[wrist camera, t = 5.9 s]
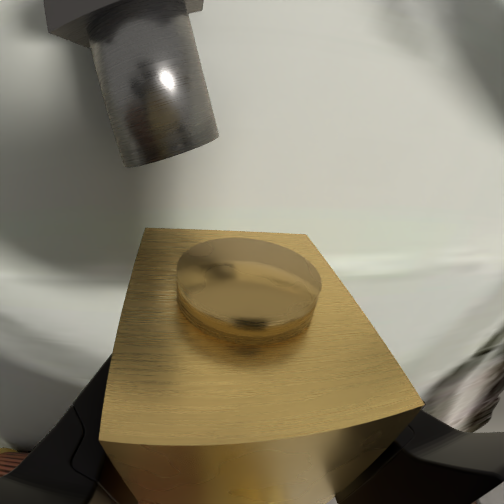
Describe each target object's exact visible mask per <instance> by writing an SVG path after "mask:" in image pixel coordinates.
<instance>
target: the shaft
mask: <svg viewBox="0 0 504 504" xmlns="http://www.w3.org/2000/svg"><path fill="white" fill-rule="evenodd" d="M203 1H204V0H44V7H45V14H46V20H47V26H48V32H49V33H50V34H53V35H56V36H59V37H61V38H64V39H67V40H69V41H72V42H75V43H77V44H80V45H82V46H85V47H87V48H89V47H91V51H92V56H93V60H94V64H95V68H96V72H97V76H98V80H99V84H100V87H101V91H102V95H103V98H104V102H105V105H106V109H107V112H108V116H109V119H110V122H111V126H112V129H113V132H114V136H115V139H116V142H117V145H118V148H119V151H120V154H121V157H122V160H123V163H124V166H125V167H136V166H141V165H145V164H149V163H152V162H156V161H159V160H163V159H166V158H169V157H172V156H175V155H178V154H181V153H184V152H187V151H189V150H192V149H195V148H197V147H200V146H202V145H205V144H207V143H209V142H211V141H213V140H215V139H216V138H218V137H219V133H218V129H217V126H216V122H215V118H214V114H213V110H212V106H211V102H210V98H209V94H208V90H207V86H206V82H205V79H204V75H203V71H202V67H201V63H200V59H199V55H198V51H197V47H196V43H195V39H194V35H193V31H192V27H191V23H190V19H189V15H188V14H189V13H193V12H197V11H202V9H203Z"/></svg>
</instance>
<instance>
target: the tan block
mask: <svg viewBox="0 0 504 504" xmlns="http://www.w3.org/2000/svg"><path fill="white" fill-rule="evenodd" d="M424 405H425V404H424V403H423V401H422V400H421V398H420V396H419V395H418V393H417V392H416V390H415V389H414V387H413V385H412V384H411V382H410V381H409V379H408V378H407V376H406V375H405V373H404V372H403V370H402V368H401V367H400V365H399V364H398V362H397V361H396V359H395V358H394V356H393V355H392V353H391V352H390V350H389V349H388V347H387V346H386V344H385V343H384V342H383V340H382V339H381V337H380V336H379V334H378V333H377V331H376V330H375V328H374V327H373V325H372V324H371V323H370V321H369V320H368V318H367V317H366V315H365V314H364V313H363V311H362V310H361V308H360V307H359V305H358V304H357V303H356V301H355V300H354V298H353V297H352V296H351V294H350V293H349V292H348V290H347V289H346V287H345V286H344V285H343V283H342V282H341V280H340V279H339V278H338V276H337V275H336V274H335V272H334V271H333V270H332V268H331V267H330V265H329V264H328V263H327V261H326V260H325V259H324V257H323V256H322V255H321V253H320V252H319V251H318V249H317V248H316V247H315V245H314V244H313V243H312V242H311V240H310V239H309V238H308V236H307V235H306V234H287V233H266V232H245V231H221V230H195V229H165V228H145V231H144V234H143V237H142V240H141V244H140V247H139V250H138V254H137V257H136V260H135V264H134V267H133V271H132V274H131V278H130V282H129V285H128V289H127V293H126V297H125V301H124V305H123V309H122V313H121V317H120V321H119V326H118V330H117V334H116V339H115V344H114V348H113V353H112V358H111V363H110V369H109V374H108V380H107V385H106V391H105V397H104V404H103V410H102V417H101V425H100V433H99V442H100V444H101V445H102V447H103V449H104V450H105V452H106V454H107V455H108V457H109V459H110V460H111V462H112V464H113V465H114V467H115V468H116V470H117V471H118V473H119V475H120V476H121V478H122V479H123V481H124V482H125V483H126V485H127V486H128V488H129V489H130V491H131V492H132V493H133V495H134V496H135V498H136V499H137V500H138V502H139V503H140V504H326V503H328V502H329V501H330V500H331V499H332V498H334V497H335V496H336V495H337V494H339V493H340V492H341V491H342V490H343V489H344V488H346V487H347V486H348V485H349V484H350V483H351V482H352V481H354V480H355V479H356V478H357V477H358V476H359V475H360V474H361V473H362V472H363V471H364V470H366V469H367V468H368V467H369V466H370V465H371V464H372V463H373V462H374V461H375V460H376V459H377V458H378V457H379V456H380V455H381V454H382V453H383V452H384V451H385V450H386V449H387V448H388V447H389V446H390V444H391V443H392V442H393V441H394V440H395V439H396V438H397V437H398V436H399V435H400V434H401V432H402V431H403V430H404V429H405V428H406V427H407V426H408V424H409V423H410V422H411V421H412V420H413V419H414V417H415V416H416V415H417V414H418V413H419V411H420V410H421V409H422V408H423V406H424Z"/></svg>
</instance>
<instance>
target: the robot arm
mask: <svg viewBox="0 0 504 504" xmlns="http://www.w3.org/2000/svg"><path fill="white" fill-rule="evenodd" d="M111 358H112V354H111V355H110V357H109V358H108V359H107V360H106V362H105V363H104V364H103V365H102V367H101V368H100V369H99V370H98V372H97V373H96V374H95V376H94V377H93V378H92V379H91V381H90V382H89V383H88V384H87V386H86V387H85V388H84V390H83V391H82V392H81V394H80V395H79V396H78V397H77V399H76V400H75V401H74V403H73V406H70V408H69V409H68V410H67V412H66V413H65V414H64V416H63V417H62V418H61V419H60V421H59V422H58V423H57V424H56V426H55V427H54V428H53V429H52V430H51V431H50V432H49V433H48V434H47V436H46V437H45V438H44V439H43V440H42V441H41V442H40V443H39V444H38V445H37V446H36V447H35V448H34V449H33V450H32V451H31V452H30V453H29V454H28V455H27V457H26V458H25V459H24V460H23V461H22V462H21V463H20V464H19V465H18V466H17V467H16V468H15V469H13V470H12V471H11V472H9V473H7V474H6V475H4V476H1V477H0V504H139V502H138V500H137V499H136V498H135V496H134V495H133V493H132V492H131V491H130V489H129V488H128V486H127V485H126V483H125V482H124V481H123V479H122V478H121V476H120V475H119V473H118V471H117V470H116V468H115V467H114V465H113V464H112V462H111V460H110V459H109V457H108V455H107V454H106V452H105V450H104V449H103V447H102V445H101V444H100V442H99V433H100V425H101V417H102V410H103V404H104V397H105V391H106V385H107V380H108V374H109V369H110V363H111ZM423 403H424V404H425V402H424V401H423ZM425 405H426V404H425ZM425 405H424V406H425ZM424 406H423V408H424ZM423 408H422V409H423ZM422 409H421V410H420V411H419V413H418V414H417V415H416V416H415V417H414V419H413V420H412V421H411V422H410V423H409V424H408V426H407V427H406V428H405V429H404V430H403V431H402V432H401V434H400V435H399V436H398V437H397V438H396V439H395V440H394V441H393V442H392V443H391V444H390V446H389V447H388V448H387V449H386V450H385V451H384V452H383V453H382V454H381V455H380V456H379V457H378V458H377V459H376V460H375V461H374V462H373V463H372V464H371V465H370V466H369V467H368V468H367V469H366V470H364V471H363V472H362V473H361V474H360V475H359V476H358V477H357V478H356V479H355V480H354V481H352V482H351V483H350V484H349V485H348V486H347V487H346V488H344V489H343V490H342V491H341V492H340V493H339V494H337V495H336V496H335V498H336V501H337V503H338V504H504V432H493V433H467V432H462V431H459V430H456V429H454V428H452V427H450V426H449V425H447V424H445V423H444V422H442V421H440V420H438V419H437V418H435V417H433V416H432V415H430V414H428V413H427V412H425V411H423V410H422Z"/></svg>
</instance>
